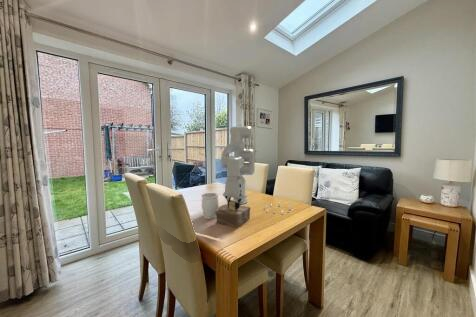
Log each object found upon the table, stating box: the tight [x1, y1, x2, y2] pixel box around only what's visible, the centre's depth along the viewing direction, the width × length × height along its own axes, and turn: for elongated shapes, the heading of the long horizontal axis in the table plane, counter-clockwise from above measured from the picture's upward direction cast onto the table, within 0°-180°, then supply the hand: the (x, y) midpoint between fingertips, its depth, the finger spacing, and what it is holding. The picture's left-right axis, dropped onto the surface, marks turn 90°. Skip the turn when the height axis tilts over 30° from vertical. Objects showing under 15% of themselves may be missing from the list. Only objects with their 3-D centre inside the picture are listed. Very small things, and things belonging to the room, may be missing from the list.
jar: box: [201, 192, 219, 220], centre depth 137 cm, size 11×10×15 cm
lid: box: [216, 199, 251, 218], centre depth 129 cm, size 17×15×7 cm
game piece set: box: [263, 201, 292, 215], centre depth 152 cm, size 19×20×4 cm
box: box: [215, 209, 251, 229], centre depth 130 cm, size 16×14×7 cm
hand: (233, 207), depth 129 cm, fingers open, 4 cm apart
